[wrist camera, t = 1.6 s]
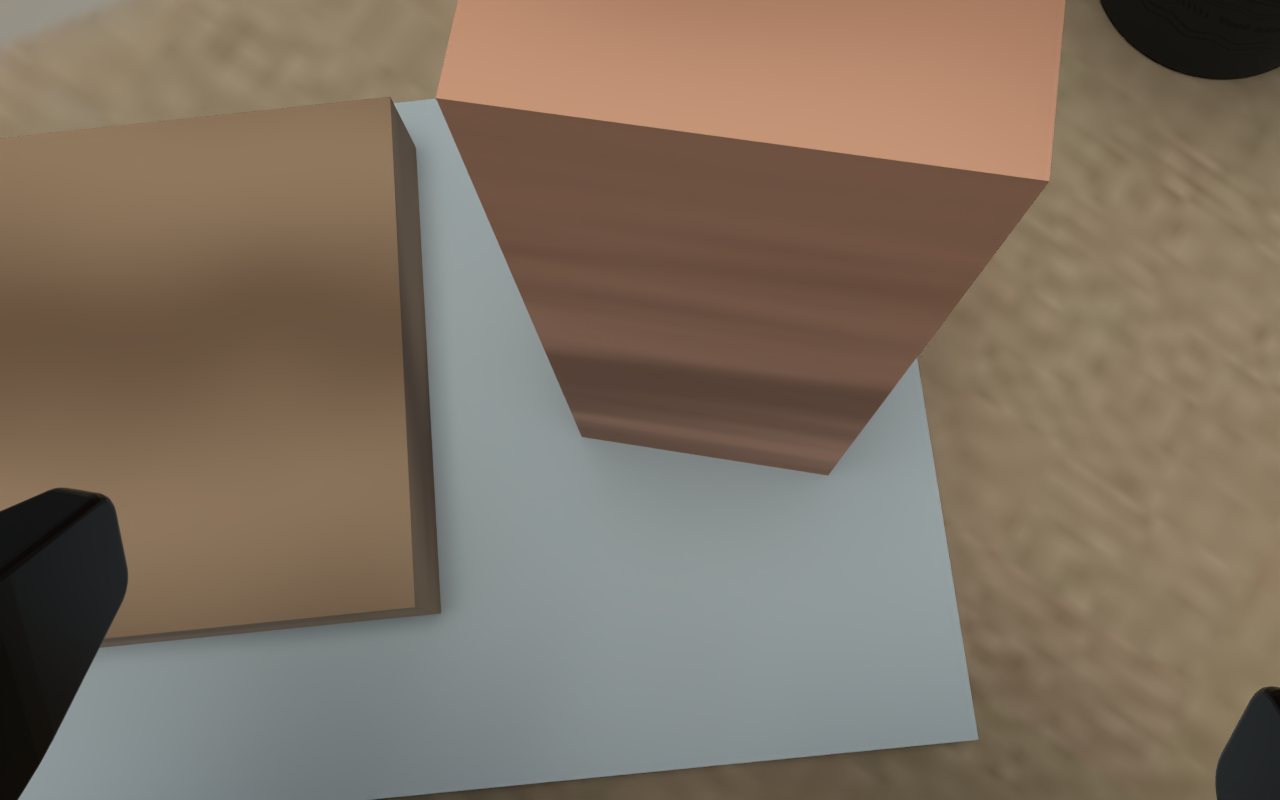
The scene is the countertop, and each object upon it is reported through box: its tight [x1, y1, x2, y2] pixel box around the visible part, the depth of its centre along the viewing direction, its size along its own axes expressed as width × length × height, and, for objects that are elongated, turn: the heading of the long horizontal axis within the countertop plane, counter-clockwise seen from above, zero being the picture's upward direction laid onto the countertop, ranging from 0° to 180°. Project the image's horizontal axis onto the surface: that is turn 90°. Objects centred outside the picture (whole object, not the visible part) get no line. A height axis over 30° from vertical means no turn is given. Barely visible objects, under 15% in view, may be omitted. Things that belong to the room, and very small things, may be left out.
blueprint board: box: [18, 99, 979, 800], centre depth 21 cm, size 13×18×1 cm
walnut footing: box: [0, 97, 441, 648], centre depth 20 cm, size 9×9×2 cm
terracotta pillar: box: [436, 0, 1066, 475], centre depth 15 cm, size 4×4×12 cm
